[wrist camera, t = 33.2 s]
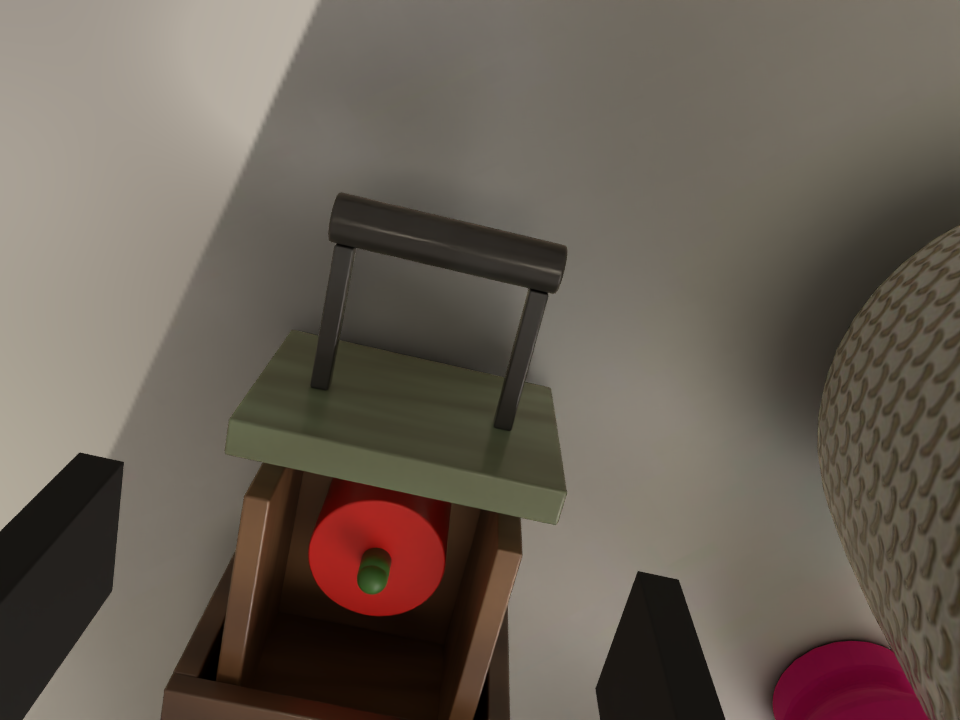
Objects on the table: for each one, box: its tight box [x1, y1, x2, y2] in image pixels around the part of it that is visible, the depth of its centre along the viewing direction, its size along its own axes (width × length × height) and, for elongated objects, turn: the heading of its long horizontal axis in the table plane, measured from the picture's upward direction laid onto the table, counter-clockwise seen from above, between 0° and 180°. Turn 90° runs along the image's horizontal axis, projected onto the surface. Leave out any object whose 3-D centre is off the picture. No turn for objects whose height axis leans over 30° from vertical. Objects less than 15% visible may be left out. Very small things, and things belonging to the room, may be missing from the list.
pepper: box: [308, 477, 451, 616], centre depth 29 cm, size 5×5×6 cm
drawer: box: [216, 192, 567, 720], centre depth 29 cm, size 19×10×8 cm, turn 167°
